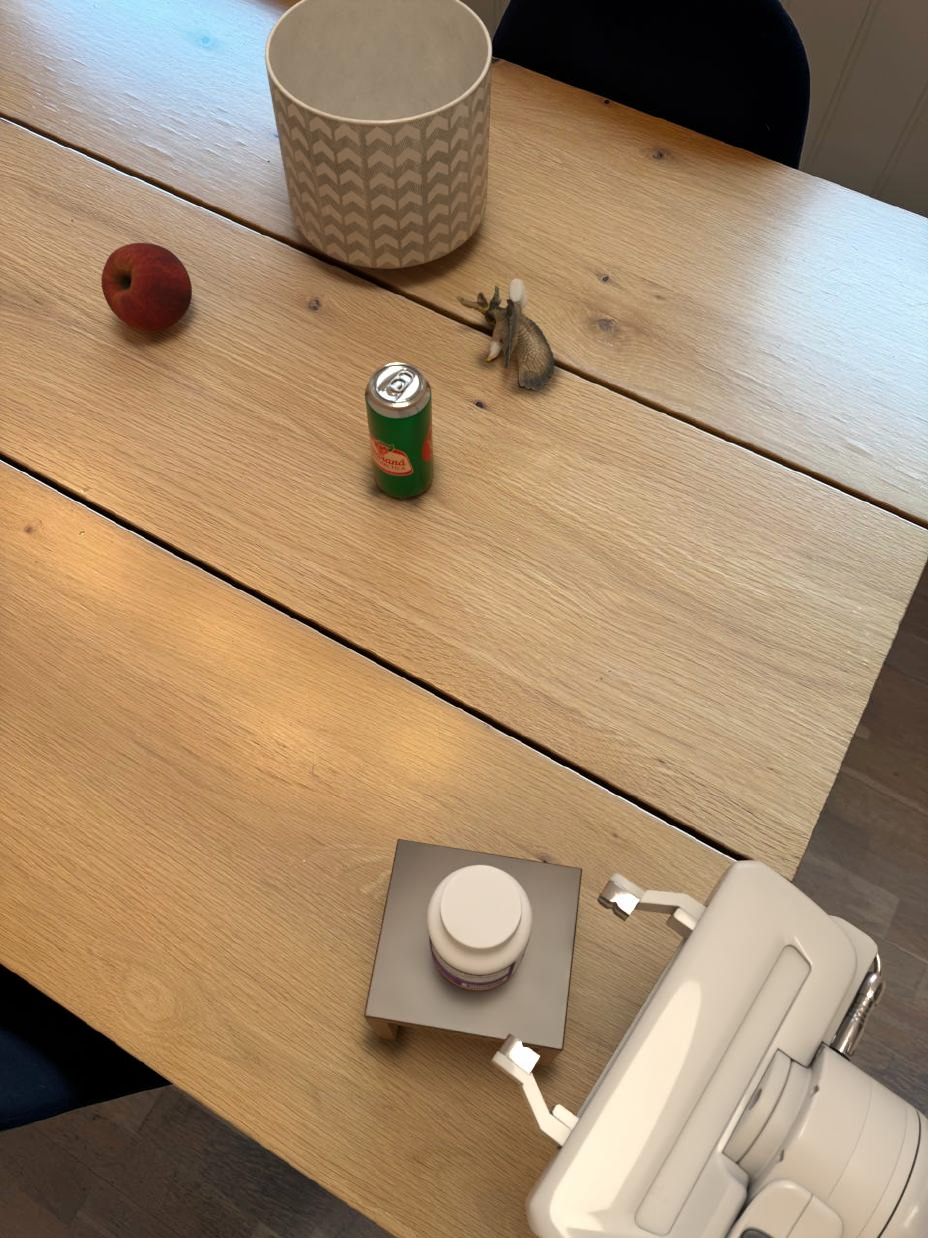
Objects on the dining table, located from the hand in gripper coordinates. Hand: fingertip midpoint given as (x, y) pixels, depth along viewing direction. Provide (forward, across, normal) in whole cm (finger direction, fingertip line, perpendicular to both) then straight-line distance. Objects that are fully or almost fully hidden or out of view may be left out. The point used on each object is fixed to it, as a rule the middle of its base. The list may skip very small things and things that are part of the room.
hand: (554, 963), depth 50 cm
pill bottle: (+4, 0, +7) cm, 8 cm away
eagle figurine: (+33, -46, +20) cm, 60 cm away
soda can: (+33, -29, +20) cm, 48 cm away
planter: (+52, -53, +20) cm, 77 cm away
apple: (+62, -30, +20) cm, 72 cm away
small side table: (+4, 0, +19) cm, 20 cm away
